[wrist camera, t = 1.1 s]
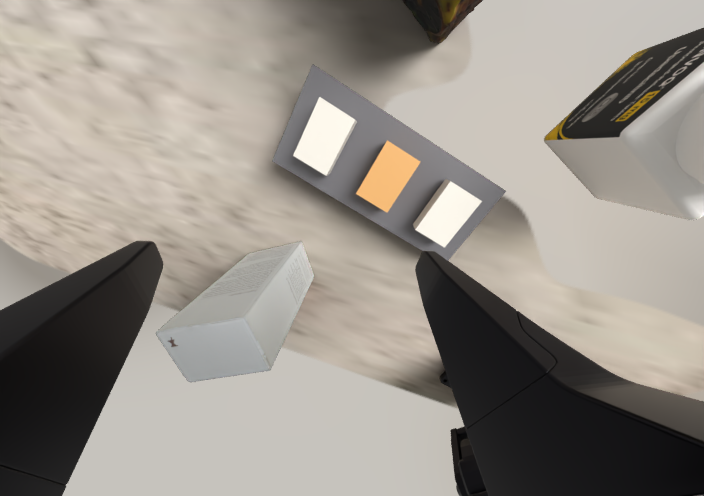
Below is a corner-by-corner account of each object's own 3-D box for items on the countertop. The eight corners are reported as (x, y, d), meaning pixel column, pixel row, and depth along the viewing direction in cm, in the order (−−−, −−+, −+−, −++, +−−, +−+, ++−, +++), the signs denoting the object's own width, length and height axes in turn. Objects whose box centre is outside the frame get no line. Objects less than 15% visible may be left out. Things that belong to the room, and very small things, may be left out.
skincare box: (264, 287, 27) (185, 385, 16) (248, 252, 26) (150, 331, 14) (317, 277, 26) (271, 373, 15) (303, 239, 24) (241, 315, 13)
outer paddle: (357, 121, 17) (355, 119, 16) (329, 173, 19) (326, 175, 17) (324, 100, 17) (319, 96, 16) (299, 155, 18) (293, 155, 17)
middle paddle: (417, 160, 18) (420, 161, 16) (386, 208, 19) (387, 212, 18) (386, 140, 17) (387, 140, 16) (357, 190, 19) (355, 193, 18)
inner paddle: (474, 197, 18) (482, 201, 17) (440, 241, 20) (444, 247, 18) (445, 178, 18) (450, 181, 17) (412, 224, 19) (415, 229, 18)
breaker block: (489, 185, 21) (506, 191, 18) (437, 250, 23) (444, 264, 21) (322, 76, 19) (312, 63, 16) (285, 159, 22) (272, 161, 19)
